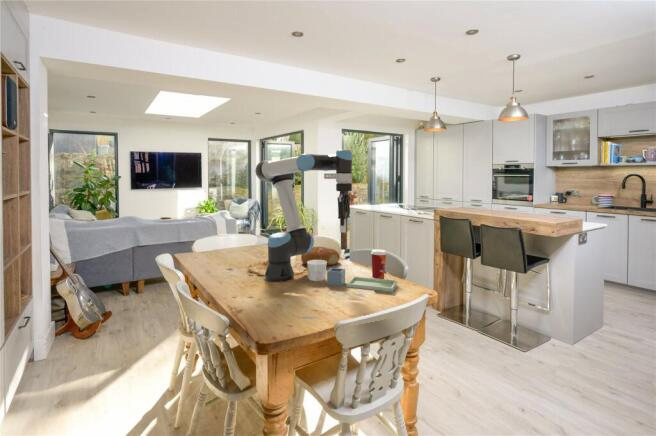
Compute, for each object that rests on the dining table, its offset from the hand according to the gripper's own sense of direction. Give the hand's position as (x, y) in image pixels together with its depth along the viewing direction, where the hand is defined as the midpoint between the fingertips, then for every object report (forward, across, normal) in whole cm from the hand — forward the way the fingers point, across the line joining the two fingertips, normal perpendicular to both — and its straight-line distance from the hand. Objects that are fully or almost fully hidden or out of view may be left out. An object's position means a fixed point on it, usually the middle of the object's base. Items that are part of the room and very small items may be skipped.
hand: (344, 231), depth 189 cm
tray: (+27, +4, -13) cm, 30 cm away
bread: (+27, +41, +28) cm, 56 cm away
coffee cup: (+27, +20, -13) cm, 36 cm away
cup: (+27, +4, +16) cm, 32 cm away
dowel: (+9, 0, 0) cm, 9 cm away
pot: (+27, 0, +4) cm, 27 cm away
